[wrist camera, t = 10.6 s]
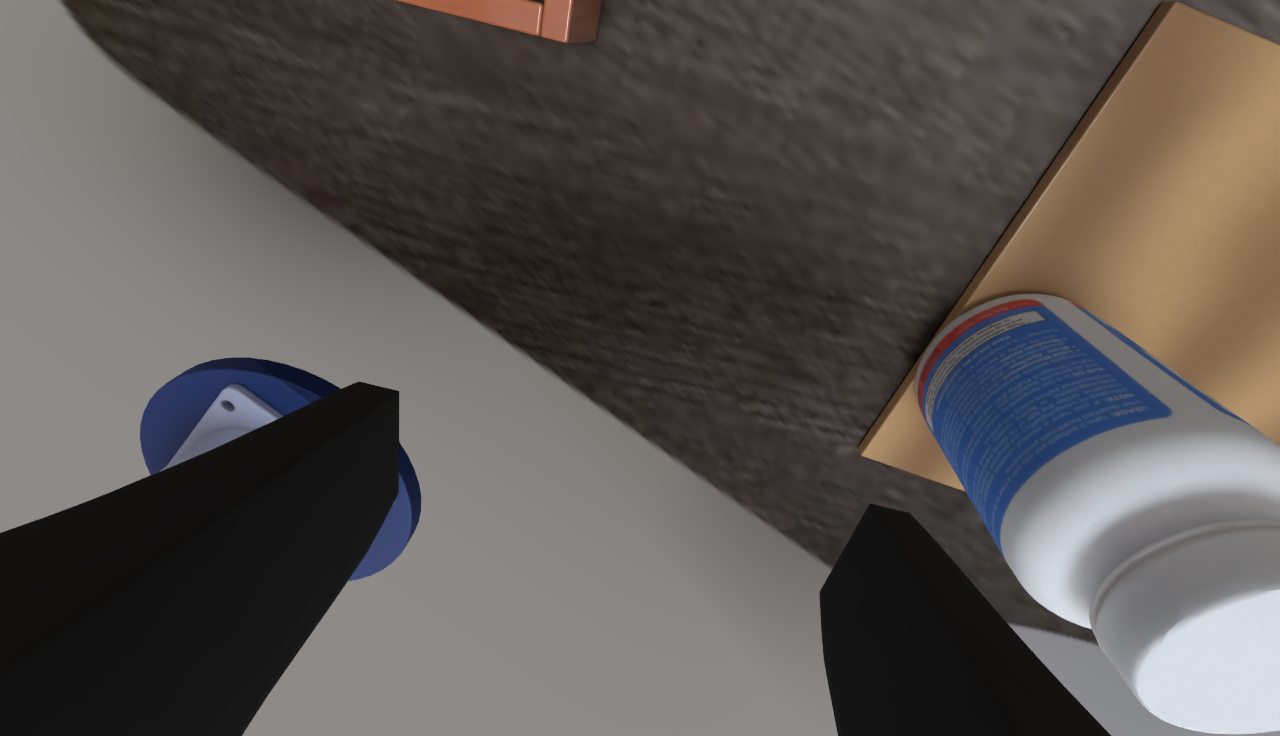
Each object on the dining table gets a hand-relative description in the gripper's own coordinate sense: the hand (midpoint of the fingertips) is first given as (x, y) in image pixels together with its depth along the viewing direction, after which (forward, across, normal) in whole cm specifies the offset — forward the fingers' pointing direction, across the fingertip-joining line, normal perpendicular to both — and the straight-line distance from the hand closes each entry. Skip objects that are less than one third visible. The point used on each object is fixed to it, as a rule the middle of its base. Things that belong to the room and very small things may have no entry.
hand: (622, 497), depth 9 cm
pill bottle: (+10, -11, 0) cm, 15 cm away
